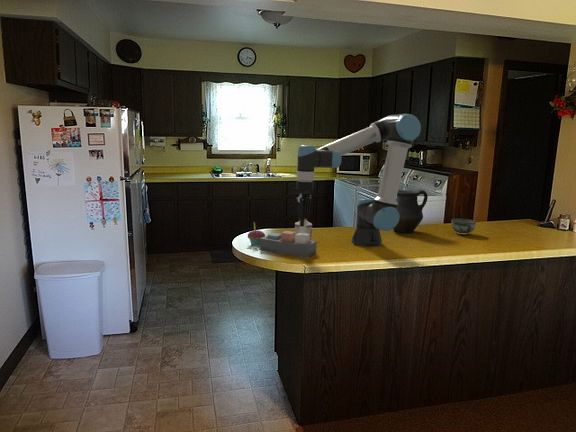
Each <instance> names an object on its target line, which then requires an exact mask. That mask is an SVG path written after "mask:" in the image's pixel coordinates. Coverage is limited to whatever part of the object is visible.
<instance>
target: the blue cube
mask: <svg viewBox="0 0 576 432" xmlns="http://www.w3.org/2000/svg"><path fill="white" fill-rule="evenodd" d="M267 236H268V239H273V240H279V239H281V233H275V232H272V233H269V234H267Z"/></svg>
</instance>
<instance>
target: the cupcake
mask: <svg viewBox="0 0 576 432" xmlns="http://www.w3.org/2000/svg"><path fill="white" fill-rule="evenodd" d="M253 229H254V230H251V231H249V233H248V234H247V238H248V239H249V242H250V244H251V246H252V247H260V238H263V237H265V236H266V233H264V232H263V231H262V230H258V229H257V228H256V222H255V221H253Z"/></svg>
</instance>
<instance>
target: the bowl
mask: <svg viewBox="0 0 576 432" xmlns="http://www.w3.org/2000/svg"><path fill="white" fill-rule="evenodd" d="M476 223H477V221H476V220H473V219H468V218H460V217H459V218H458V217H457V218H456V217H455V218H452V219H451V227H452V229H453V230H454V231H455V232H456V233H457V232H459V233H468V234H470V233H472V232H473V231H474V229H475V227H476Z"/></svg>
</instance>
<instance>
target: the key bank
mask: <svg viewBox="0 0 576 432" xmlns="http://www.w3.org/2000/svg"><path fill="white" fill-rule="evenodd" d="M317 243H318V241H317V240H312V239H311V240H310V243H309V244H307V245H305V244H299V243H295V241H293V242H286V241H281V239H279V240H273V239H268V235H265V237H263V238H260V246H259V251H263V252H270V253H276V254H282V255H287V256H294V257H298V258H299V257H300V258H306V259H309V258H310V257H311V256H313V255H315V254H317Z"/></svg>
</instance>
